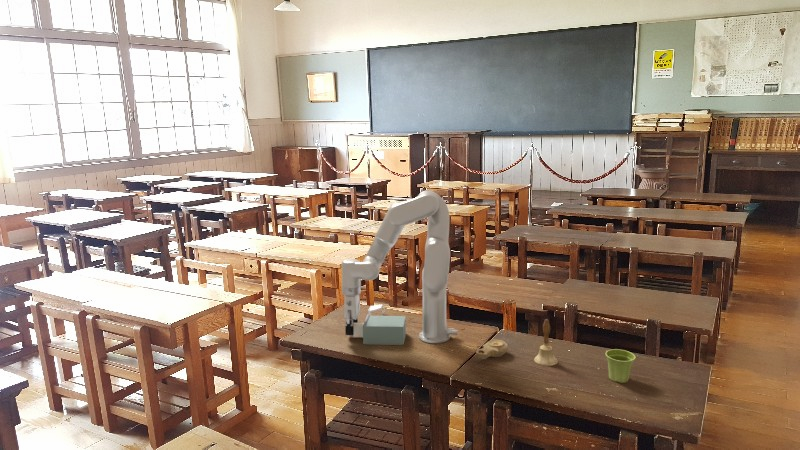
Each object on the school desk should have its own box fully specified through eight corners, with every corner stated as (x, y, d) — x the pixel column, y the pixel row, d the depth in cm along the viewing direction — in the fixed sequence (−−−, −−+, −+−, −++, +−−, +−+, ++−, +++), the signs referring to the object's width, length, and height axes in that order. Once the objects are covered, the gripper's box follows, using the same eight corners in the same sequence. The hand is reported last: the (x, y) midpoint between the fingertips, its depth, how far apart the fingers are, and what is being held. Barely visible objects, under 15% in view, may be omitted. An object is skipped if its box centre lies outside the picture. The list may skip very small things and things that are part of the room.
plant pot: (640, 383, 184) (641, 358, 182) (615, 387, 181) (617, 362, 180) (621, 371, 193) (622, 347, 191) (598, 374, 190) (599, 351, 189)
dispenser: (405, 333, 230) (405, 314, 228) (403, 344, 218) (403, 325, 216) (367, 332, 231) (367, 314, 230) (363, 344, 219) (362, 324, 218)
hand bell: (544, 367, 196) (546, 325, 193) (529, 359, 203) (530, 318, 200) (562, 362, 200) (564, 321, 197) (546, 354, 207) (548, 314, 204)
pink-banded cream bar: (380, 334, 226) (380, 322, 225) (379, 337, 223) (379, 325, 222) (349, 334, 227) (348, 322, 226) (347, 337, 224) (347, 325, 223)
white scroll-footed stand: (370, 312, 255) (369, 302, 254) (387, 314, 253) (387, 304, 252) (360, 321, 244) (359, 311, 243) (378, 323, 241) (377, 312, 240)
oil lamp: (474, 362, 202) (474, 349, 201) (482, 347, 215) (482, 335, 214) (503, 366, 198) (503, 353, 197) (510, 351, 211) (510, 338, 210)
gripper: (357, 297, 213) (357, 339, 216) (363, 283, 230) (363, 323, 233) (337, 296, 214) (338, 338, 217) (345, 283, 231) (346, 322, 234)
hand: (351, 330), depth 225 cm, fingers open, 9 cm apart
